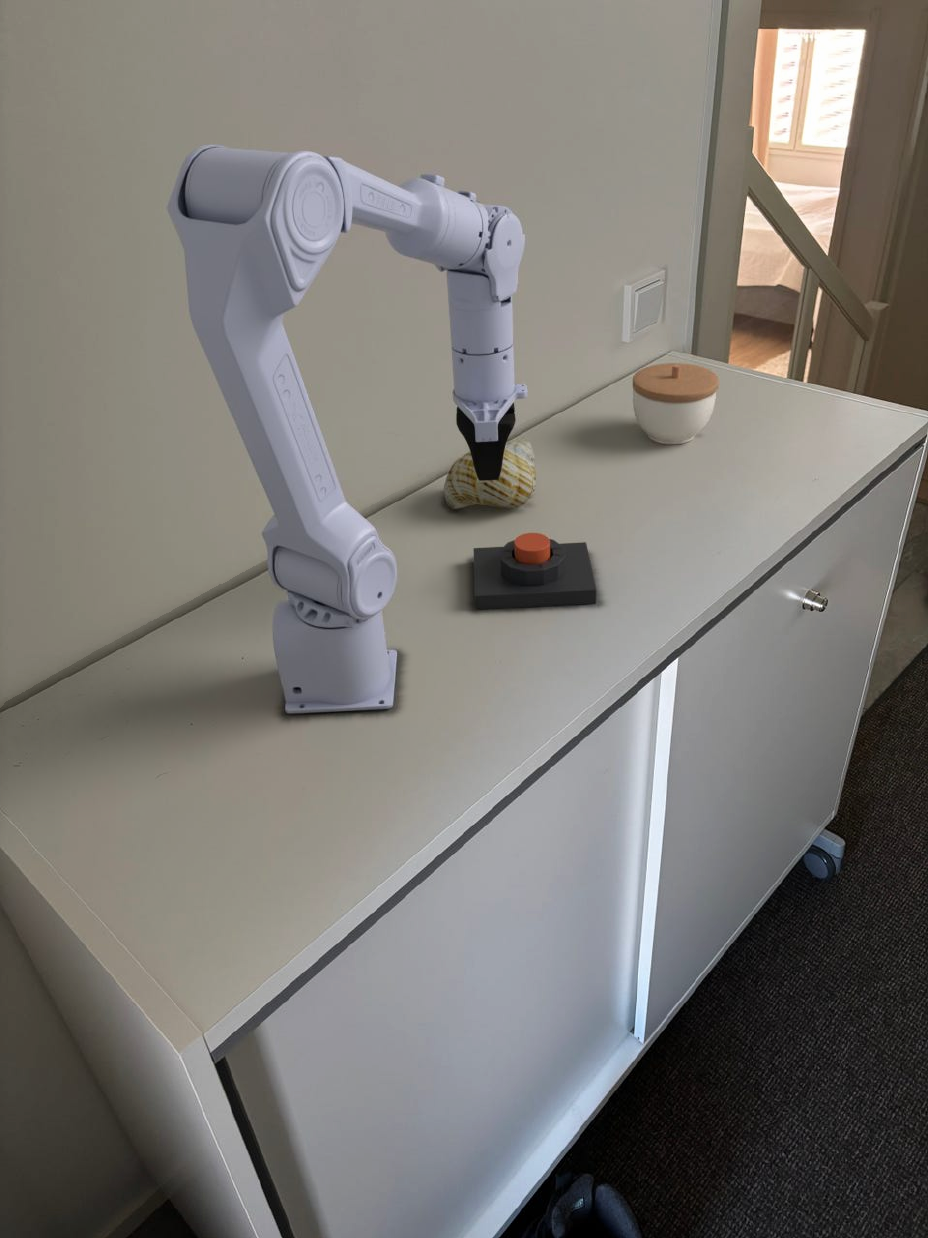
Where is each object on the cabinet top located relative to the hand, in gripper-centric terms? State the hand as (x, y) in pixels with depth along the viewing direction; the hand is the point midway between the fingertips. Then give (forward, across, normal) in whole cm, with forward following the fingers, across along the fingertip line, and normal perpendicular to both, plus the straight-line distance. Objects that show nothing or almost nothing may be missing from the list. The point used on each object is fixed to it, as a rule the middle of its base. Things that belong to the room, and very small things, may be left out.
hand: (488, 477), depth 92 cm
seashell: (+11, +14, 0) cm, 17 cm away
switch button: (+7, -4, -4) cm, 9 cm away
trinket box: (+11, +30, -24) cm, 40 cm away
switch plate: (+10, -4, -4) cm, 12 cm away
